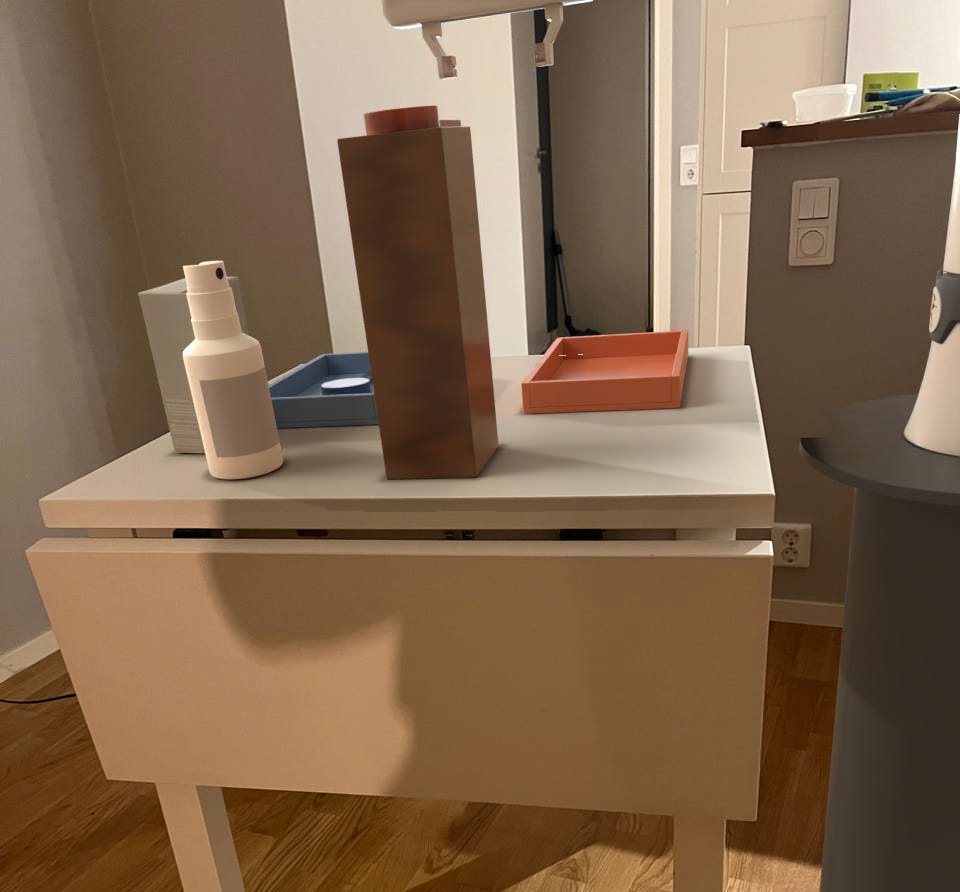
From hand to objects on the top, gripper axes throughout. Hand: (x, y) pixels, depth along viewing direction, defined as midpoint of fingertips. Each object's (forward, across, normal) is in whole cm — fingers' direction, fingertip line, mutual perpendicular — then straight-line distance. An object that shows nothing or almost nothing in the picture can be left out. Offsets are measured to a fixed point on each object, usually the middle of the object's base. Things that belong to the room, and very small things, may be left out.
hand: (496, 72), depth 91 cm
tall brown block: (+31, +3, +24) cm, 39 cm away
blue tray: (+30, +20, -2) cm, 37 cm away
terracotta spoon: (+5, +2, +19) cm, 19 cm away
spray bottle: (+31, +22, +24) cm, 45 cm away
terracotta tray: (+31, -10, -3) cm, 32 cm away
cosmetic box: (+31, +29, +15) cm, 45 cm away
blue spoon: (+30, +20, -7) cm, 37 cm away
